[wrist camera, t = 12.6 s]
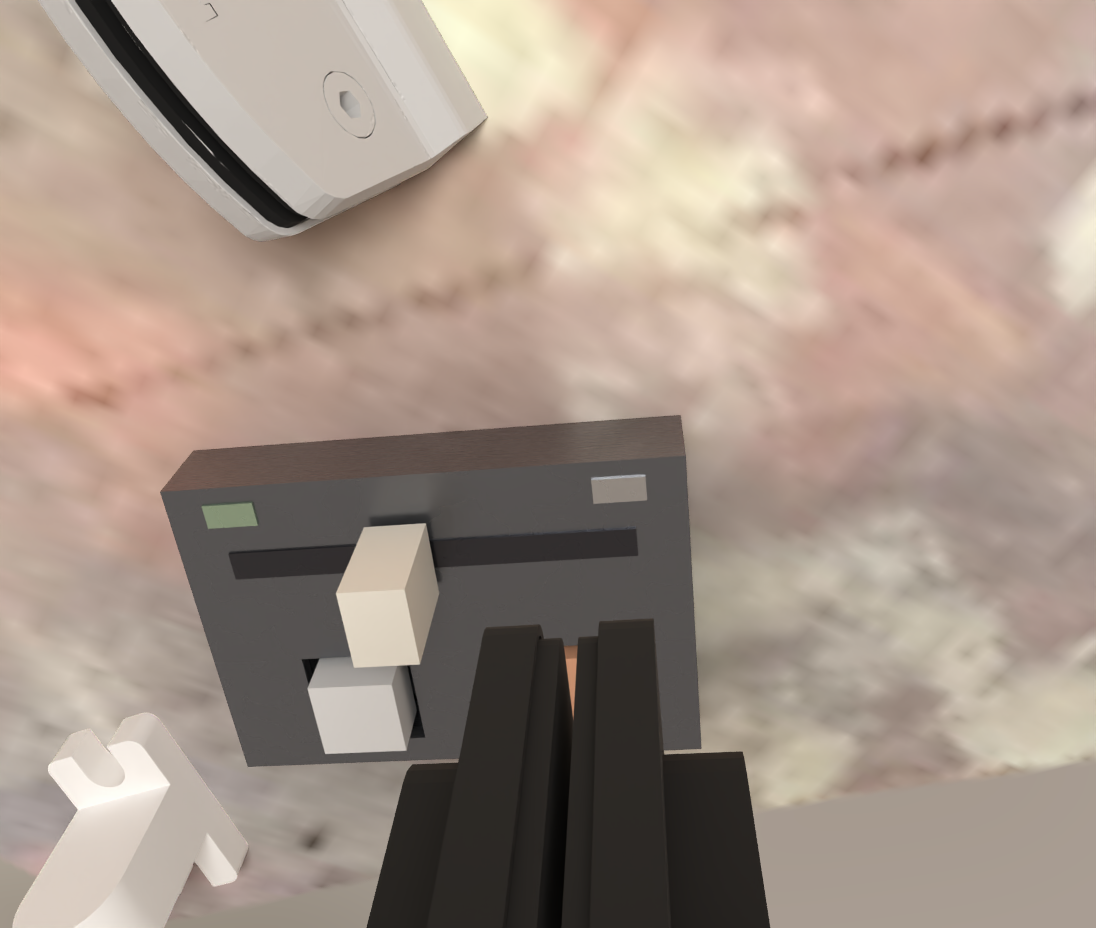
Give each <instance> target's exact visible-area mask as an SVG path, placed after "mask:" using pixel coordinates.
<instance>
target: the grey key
mask: <svg viewBox="0 0 1096 928" xmlns="http://www.w3.org/2000/svg"><path fill="white" fill-rule="evenodd" d="M307 689H308V693H309V696H310V700H311V704H312V707H313V711H314V715H315V718H316V722H317V726H318V729H319V733H320V737H321V740H322V744H323V748H324V751H325V754H336V753H361V752H385V751H407V747H408V743H409V739H410V735H411V731H412V727H413V723H414V719H415V716H416V712H417V709H416V704H415V699H414V695H413V690H412V685H411V681H410V676H409V671H408V667H407V665H400V666H380V667H359V668H354V666H353V661H352V657H336V658H320V659H319V662H318V664H317V666H316V669H315V671H314V674H313V676H312V679H311V681H310V684H309V686H308V688H307Z"/></svg>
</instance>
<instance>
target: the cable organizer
mask: <svg viewBox="0 0 1096 928" xmlns="http://www.w3.org/2000/svg"><path fill="white" fill-rule="evenodd" d="M107 748H108V749H109V750H110V752H111V753H112V754H111V753H110V752H108V751H107V750H106V749H105V747H104V746H103V745H102V743H101V742H100V741H99V739H98V738H97V737H96V735H95V734H94V733H93V731H92V730H91V729H90V728H89V729H86V730H82V731H79V732H75V733H72V734H70V735H69V736H68V738H67V739H66V741H65V742H64V744H63V745H62V747H61V748H60V750H59V751H58V753H57V754H56V755H55V757H54V758H53V760H52V761H51V763H50V764H49V766H48V771H49V773H50V775H51V776H52V777H53V779H54V780H55V781H56V783H57V784H58V785H59V786H60V788H61V789H62V790H63V791H64V793H65V794H66V795H67V796H68V798H69V799H70V800H71V801H72V803H73V804H74V805H75V807H76V808H77V809H78V811H77V812H76V814H75V816H74V817H73V819H72V820H71V822H70V824H69V825H68V827H67V829H66V830H65V832H64V833H63V835H62V837H61V838H60V840H59V842H58V843H57V845H56V847H55V848H54V850H53V851H52V853H51V855H50V856H49V858H48V860H47V861H46V863H45V865H44V866H43V868H42V869H41V871H40V873H39V874H38V876H37V878H36V879H35V881H34V883H33V884H32V886H31V887H30V889H29V891H28V892H27V894H26V896H25V897H24V899H23V901H22V902H21V904H20V906H19V908H18V910H17V912H16V914H15V917H14V921H13V926H12V928H164V927H165V924H166V922H167V920H168V918H169V916H170V913H171V911H172V909H173V907H174V905H175V902H176V900H177V898H178V896H179V895H180V894H181V892H182V890H183V888H184V885H185V883H186V881H187V879H188V877H189V874H190V872H191V870H192V868H193V863H194V862H195V863H196V864H197V865H198V867H199V868H200V869H201V871H202V872H203V873H204V875H205V876H206V877H207V879H208V880H209V881H210V883H211V884H212V885H213V887H215V886H219V885H223V884H227V883H231V882H233V881H235V880H236V878H237V876H238V873H239V871H240V868H241V866H242V863H243V861H244V858H245V856H246V853H247V851H248V848H249V846H248V843H247V842H246V840H245V839H244V837H243V836H242V835H241V833H240V832H239V830H238V829H237V827H236V826H235V825H234V823H233V822H232V820H231V819H230V818H229V816H228V815H227V813H226V812H225V811H224V809H223V808H222V806H221V805H220V803H219V802H218V801H217V799H216V798H215V796H214V795H213V794H212V792H211V791H210V789H209V788H208V787H207V785H206V784H205V782H204V781H203V779H202V778H201V777H200V775H199V774H198V772H197V771H196V770H195V768H194V767H193V765H192V764H191V762H190V761H189V760H188V758H187V757H186V755H185V754H184V753H183V751H182V750H181V748H180V747H179V746H178V744H177V743H176V741H175V740H174V738H173V737H172V736H171V734H170V733H169V731H168V730H167V729H166V727H165V726H164V724H163V723H162V722H161V720H160V719H159V718H158V717H157V716H155V715H153V714H151V713H141V714H137V715H134V716H130V717H127V718H124V720H123V721H122V723H121V724H120V726H119V728H118V729H117V731H116V732H115V734H114V736H113V737H112V739H111V740H110V742H109V744H108V745H107Z"/></svg>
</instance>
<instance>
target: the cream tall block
mask: <svg viewBox="0 0 1096 928" xmlns="http://www.w3.org/2000/svg"><path fill="white" fill-rule="evenodd" d="M336 596H337V600H338V604H339V608H340V612H341V616H342V620H343V624H344V629H345V633H346V637H347V641H348V645H349V649H350V653H351V657H352V661H353V666H354V668H359V667H380V666H400V665H420V663H421V659H422V655H423V652H424V648H425V644H426V640H427V637H428V633H429V629H430V626H431V622H432V618H433V614H434V611H435V607H436V603H437V600H438V596H439V590H438V585H437V579H436V574H435V569H434V563H433V558H432V553H431V548H430V542H429V537H428V532H427V526H426V523H422V524H406V525H391V526H375V527H364V528H363V531H362V533H361V536H360V538H359V540H358V543H357V545H356V547H355V550H354V552H353V554H352V557H351V559H350V561H349V564H348V566H347V569H346V571H345V573H344V576H343V578H342V580H341V583H340V585H339V587H338V590H337V592H336Z"/></svg>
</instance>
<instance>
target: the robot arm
mask: <svg viewBox="0 0 1096 928" xmlns="http://www.w3.org/2000/svg"><path fill="white" fill-rule="evenodd" d="M367 928H770V924H769V917H768V910H767V903H766V897H765V890H764V884H763V877H762V871H761V865H760V857H759V851H758V844H757V838H756V831H755V824H754V818H753V811H752V805H751V798H750V791H749V785H748V778H747V772H746V766H745V760H744V756H743V752H719V753H694V754H668V755H664V747H663V734H662V721H661V708H660V694H659V681H658V668H657V655H656V642H655V629H654V619H653V618H650V619H632V620H613V621H599V628H598V636H589V637H579V638H578V646H577V664H576V681H575V699H574V716H573V713H572V705H571V697H570V689H569V681H568V673H567V665H566V657H565V650H564V643H563V639H562V638H550V639H544V636H543V631H542V628H541V626H540V624H537V625H518V626H499V627H486V628H485V630H484V633H483V637H482V642H481V647H480V652H479V658H478V663H477V668H476V673H475V679H474V684H473V689H472V694H471V699H470V705H469V710H468V715H467V720H466V725H465V731H464V736H463V741H462V746H461V751H460V757H459V762H458V763H439V764H413V765H412V766H411V767H410V768H409V769H408V771H407V773H406V776H405V779H404V782H403V785H402V789H401V793H400V797H399V801H398V805H397V809H396V813H395V817H394V821H393V825H392V829H391V833H390V837H389V841H388V845H387V849H386V853H385V857H384V861H383V865H382V869H381V873H380V877H379V881H378V885H377V889H376V892H375V896H374V901H373V905H372V909H371V912H370V916H369V920H368V924H367Z"/></svg>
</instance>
